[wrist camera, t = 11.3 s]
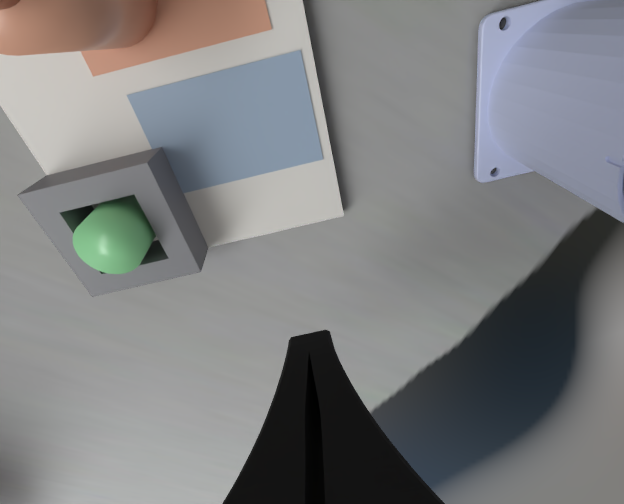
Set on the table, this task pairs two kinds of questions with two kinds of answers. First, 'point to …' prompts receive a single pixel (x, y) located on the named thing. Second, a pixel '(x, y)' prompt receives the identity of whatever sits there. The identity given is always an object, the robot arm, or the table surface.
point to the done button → (114, 236)
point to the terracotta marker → (72, 25)
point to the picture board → (179, 133)
